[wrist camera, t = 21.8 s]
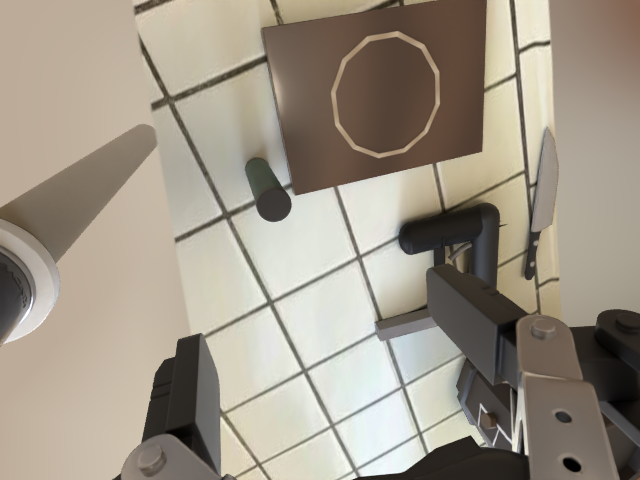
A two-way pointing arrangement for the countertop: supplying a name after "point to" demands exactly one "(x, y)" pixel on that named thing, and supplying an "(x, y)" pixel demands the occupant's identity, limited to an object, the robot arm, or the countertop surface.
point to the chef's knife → (543, 199)
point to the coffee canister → (495, 419)
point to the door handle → (442, 232)
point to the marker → (267, 191)
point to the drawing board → (378, 90)
